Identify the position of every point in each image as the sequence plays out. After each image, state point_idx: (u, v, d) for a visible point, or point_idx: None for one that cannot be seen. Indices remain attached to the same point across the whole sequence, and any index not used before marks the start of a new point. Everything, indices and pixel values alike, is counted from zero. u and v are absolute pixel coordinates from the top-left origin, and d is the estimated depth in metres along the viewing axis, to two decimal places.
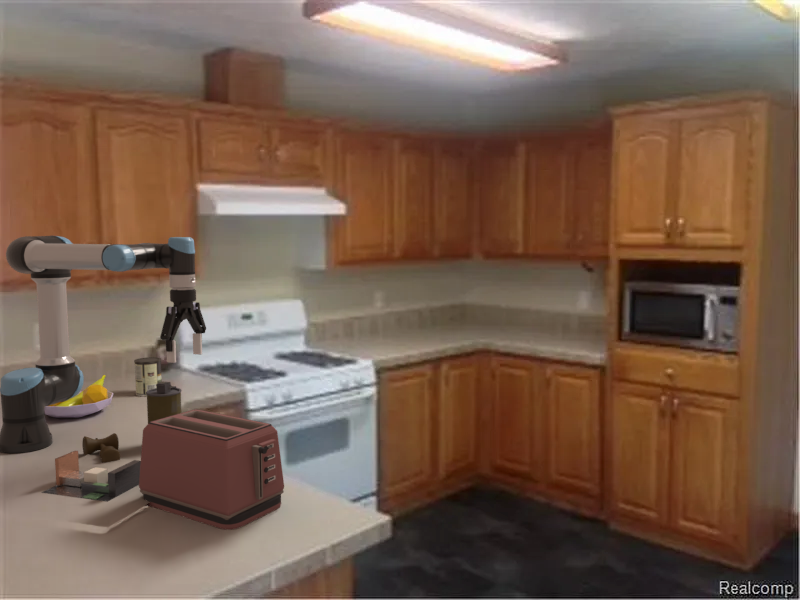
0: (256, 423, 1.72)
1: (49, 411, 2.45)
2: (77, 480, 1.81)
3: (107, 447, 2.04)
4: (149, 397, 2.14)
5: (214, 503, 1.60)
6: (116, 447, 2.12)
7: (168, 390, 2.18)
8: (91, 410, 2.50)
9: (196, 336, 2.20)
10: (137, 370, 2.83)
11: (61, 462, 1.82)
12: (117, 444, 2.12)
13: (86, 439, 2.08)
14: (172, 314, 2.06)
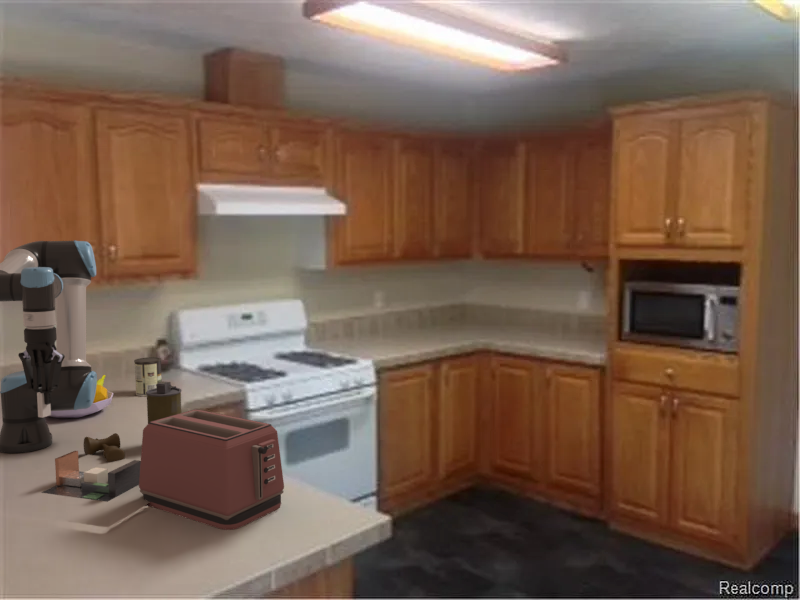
0: (256, 423, 1.72)
1: None
2: (77, 480, 1.81)
3: (111, 447, 2.04)
4: (149, 397, 2.14)
5: (213, 503, 1.60)
6: (118, 447, 2.13)
7: (168, 390, 2.18)
8: (91, 410, 2.50)
9: None
10: (137, 370, 2.83)
11: (61, 462, 1.82)
12: (119, 444, 2.13)
13: (88, 439, 2.08)
14: None
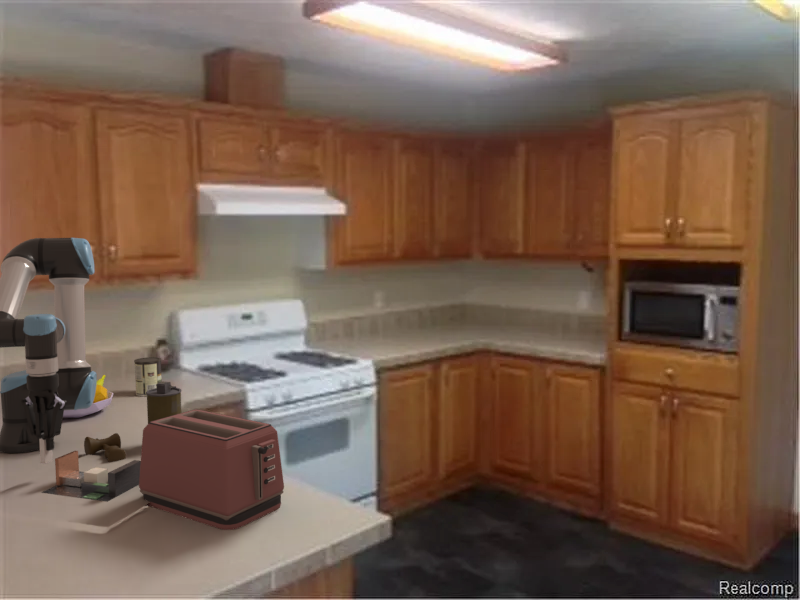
0: (256, 424, 1.72)
1: None
2: (77, 480, 1.81)
3: (112, 447, 2.05)
4: (149, 397, 2.14)
5: (213, 503, 1.59)
6: (118, 447, 2.13)
7: (168, 390, 2.18)
8: (91, 410, 2.50)
9: None
10: (137, 370, 2.83)
11: (61, 462, 1.82)
12: (119, 444, 2.13)
13: (89, 439, 2.08)
14: None
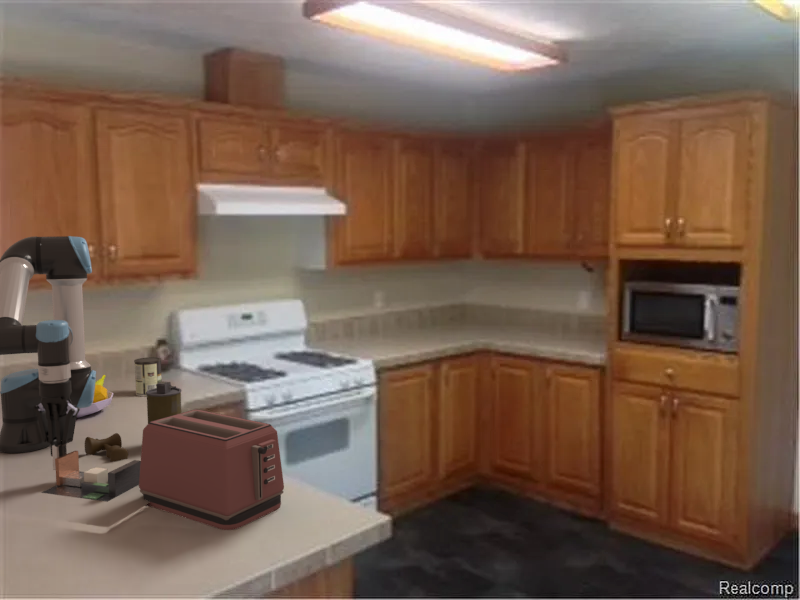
0: (256, 424, 1.72)
1: None
2: (77, 480, 1.81)
3: (114, 446, 2.05)
4: (149, 397, 2.14)
5: (213, 503, 1.59)
6: (119, 447, 2.13)
7: (168, 390, 2.18)
8: (91, 410, 2.50)
9: None
10: (137, 370, 2.83)
11: (61, 462, 1.82)
12: (120, 444, 2.13)
13: (90, 439, 2.08)
14: None
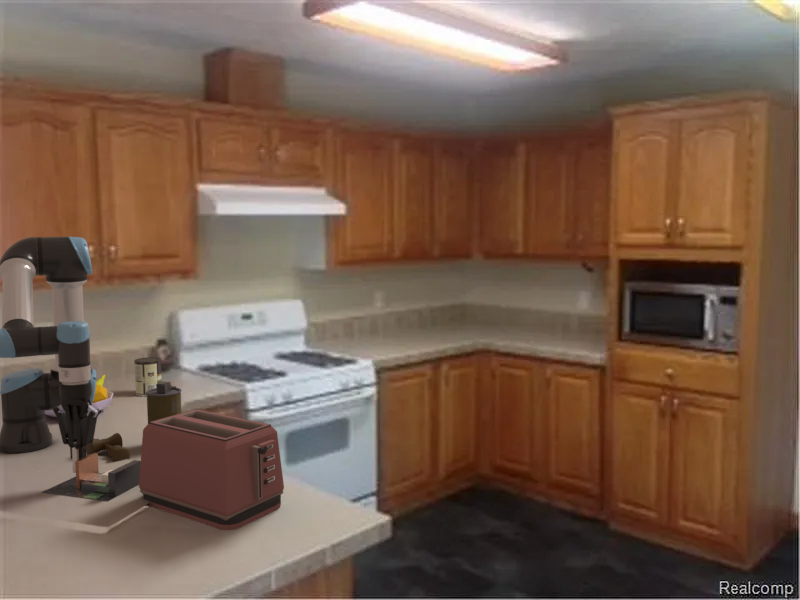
0: (256, 424, 1.72)
1: (49, 411, 2.45)
2: None
3: (115, 446, 2.05)
4: (149, 397, 2.14)
5: (213, 503, 1.59)
6: (120, 446, 2.13)
7: (168, 390, 2.18)
8: None
9: None
10: (137, 370, 2.83)
11: (81, 464, 1.80)
12: (121, 443, 2.13)
13: None
14: None
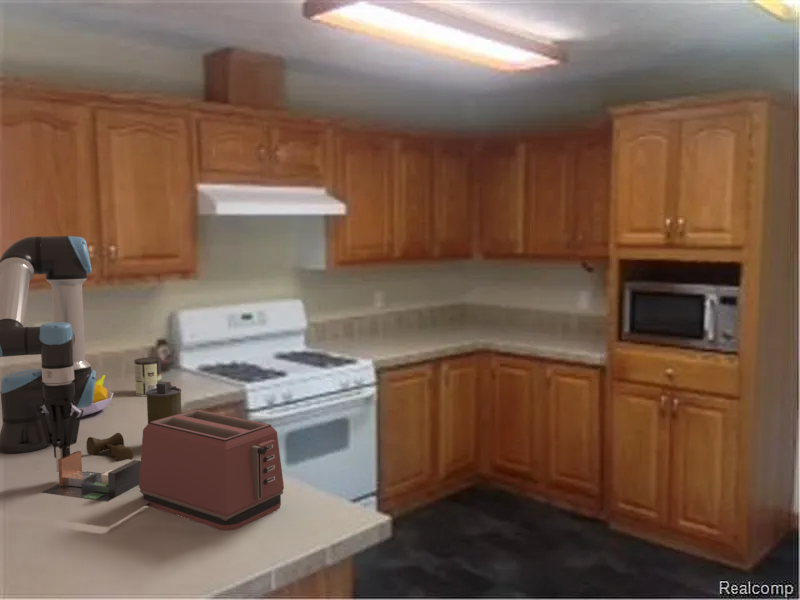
0: (256, 424, 1.72)
1: None
2: (80, 480, 1.81)
3: (118, 446, 2.05)
4: (149, 397, 2.14)
5: (213, 503, 1.59)
6: None
7: (168, 390, 2.18)
8: (91, 410, 2.50)
9: None
10: (137, 370, 2.83)
11: (64, 462, 1.82)
12: (123, 443, 2.13)
13: (93, 439, 2.08)
14: None
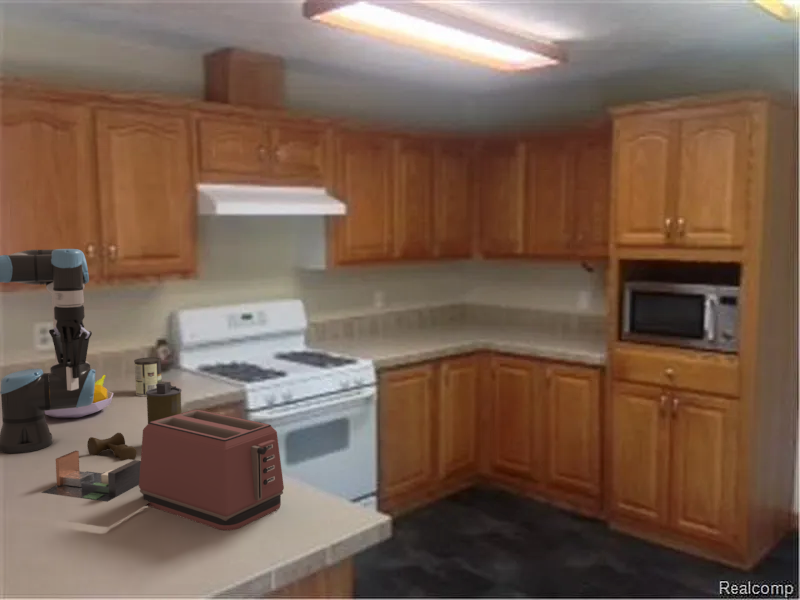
0: (256, 424, 1.72)
1: (49, 411, 2.45)
2: (78, 480, 1.81)
3: (121, 445, 2.06)
4: (149, 397, 2.14)
5: (212, 503, 1.59)
6: None
7: (168, 390, 2.18)
8: (91, 410, 2.50)
9: None
10: (137, 370, 2.83)
11: (62, 462, 1.82)
12: (124, 443, 2.14)
13: (94, 439, 2.08)
14: None
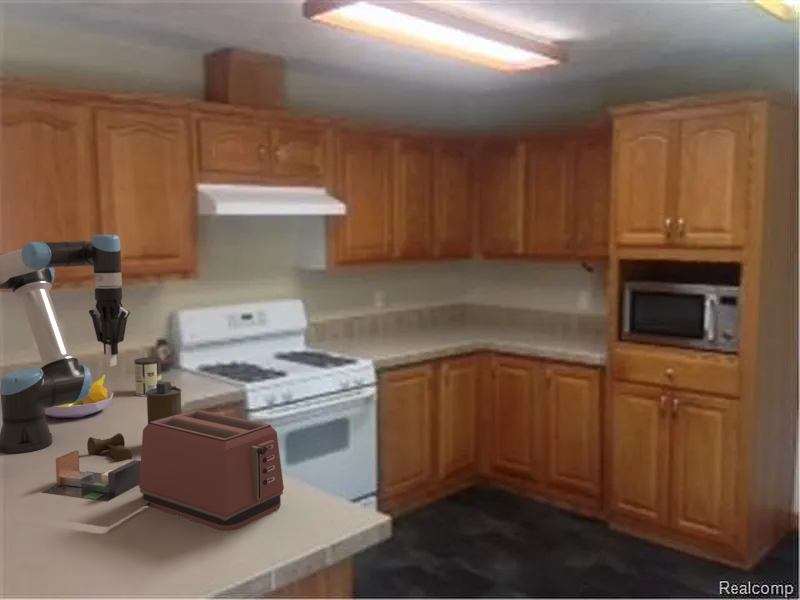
0: (256, 424, 1.72)
1: (49, 411, 2.45)
2: (78, 480, 1.81)
3: (118, 446, 2.05)
4: (149, 397, 2.14)
5: (212, 504, 1.59)
6: None
7: (168, 390, 2.18)
8: (91, 410, 2.50)
9: None
10: (137, 370, 2.83)
11: (62, 462, 1.82)
12: (123, 444, 2.13)
13: (93, 440, 2.08)
14: None
